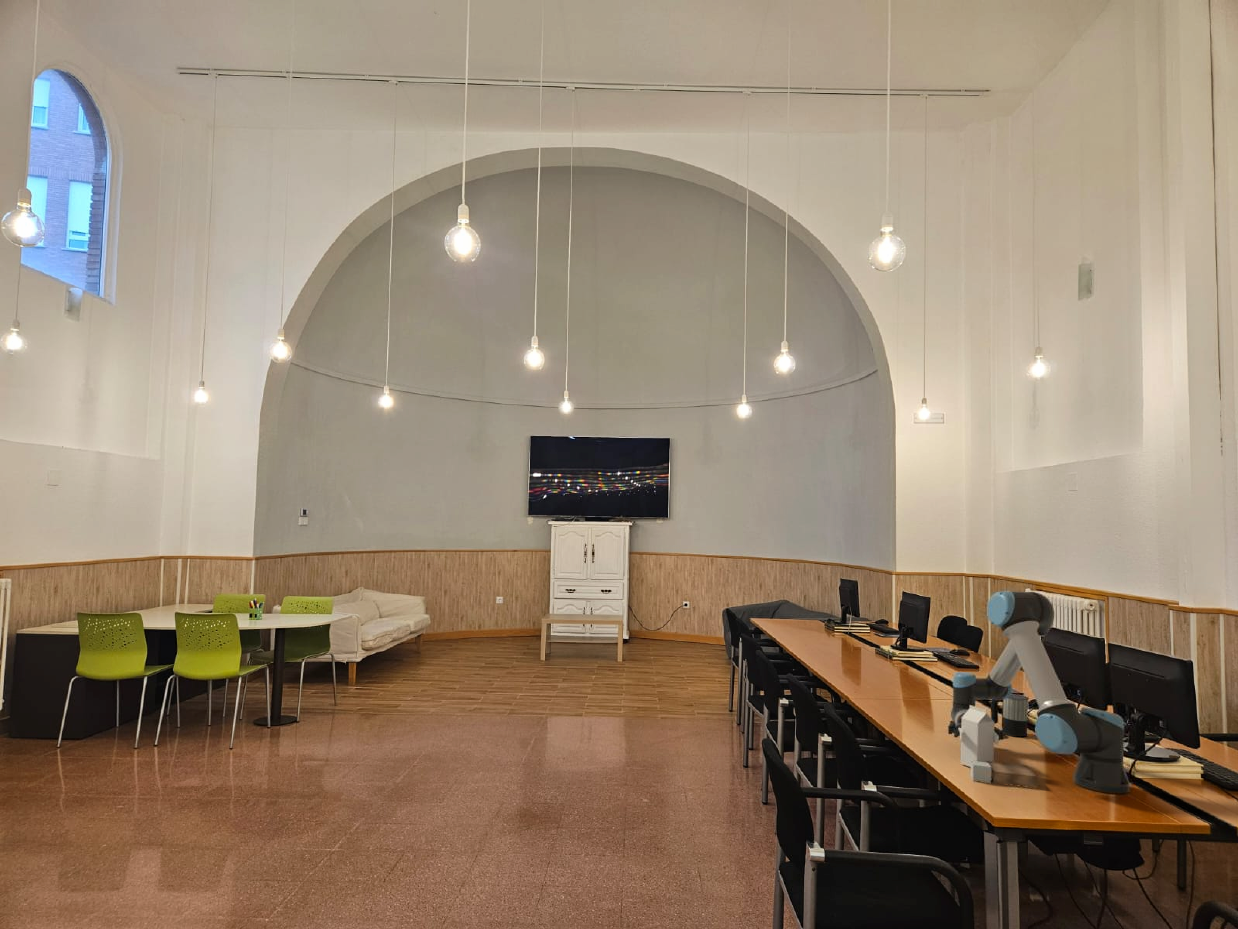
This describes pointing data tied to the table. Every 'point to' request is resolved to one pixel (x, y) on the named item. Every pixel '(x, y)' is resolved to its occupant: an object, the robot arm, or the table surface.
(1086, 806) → the table surface
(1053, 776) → the table surface
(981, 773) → the grey cube
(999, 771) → the walnut block
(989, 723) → the milk carton
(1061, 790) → the table surface
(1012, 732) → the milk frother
